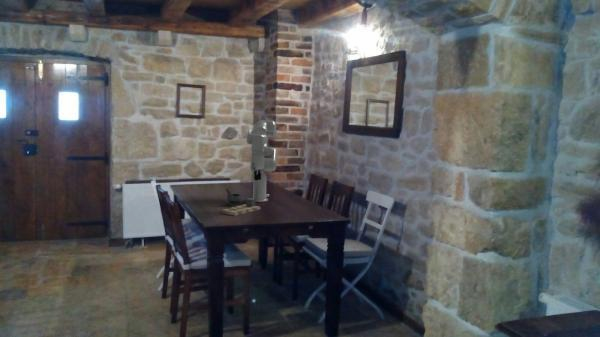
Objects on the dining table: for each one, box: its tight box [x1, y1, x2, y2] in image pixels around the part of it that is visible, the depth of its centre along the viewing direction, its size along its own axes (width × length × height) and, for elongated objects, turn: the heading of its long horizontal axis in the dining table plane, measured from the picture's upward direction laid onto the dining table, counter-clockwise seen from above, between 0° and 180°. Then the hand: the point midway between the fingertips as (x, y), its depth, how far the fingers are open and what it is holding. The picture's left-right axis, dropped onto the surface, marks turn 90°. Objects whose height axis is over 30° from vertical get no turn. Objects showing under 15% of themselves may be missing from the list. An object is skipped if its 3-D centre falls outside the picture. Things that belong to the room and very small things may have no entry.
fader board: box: [220, 203, 261, 216], centre depth 317 cm, size 26×12×2 cm, turn 147°
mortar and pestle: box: [225, 187, 242, 207], centre depth 337 cm, size 11×9×12 cm
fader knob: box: [245, 197, 256, 206], centre depth 325 cm, size 4×5×4 cm
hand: (257, 179), depth 329 cm, fingers closed
